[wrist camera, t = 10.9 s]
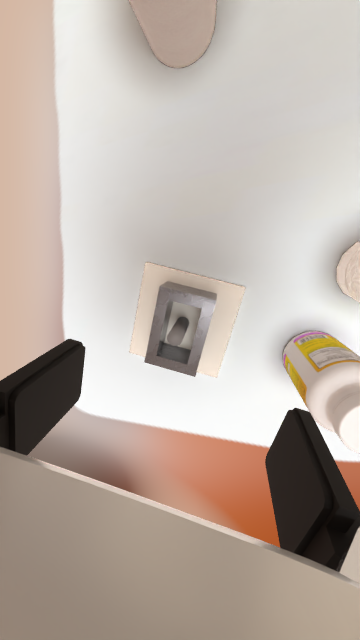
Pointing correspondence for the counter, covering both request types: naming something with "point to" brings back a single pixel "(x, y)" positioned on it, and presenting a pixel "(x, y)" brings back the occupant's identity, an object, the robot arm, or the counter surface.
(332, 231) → the counter surface
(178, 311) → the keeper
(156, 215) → the counter surface
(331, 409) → the supplement bottle
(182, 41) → the coffee cup
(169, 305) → the link
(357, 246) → the white cup
